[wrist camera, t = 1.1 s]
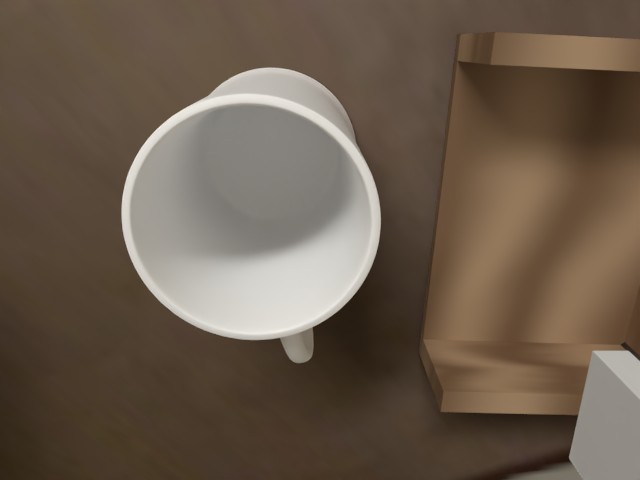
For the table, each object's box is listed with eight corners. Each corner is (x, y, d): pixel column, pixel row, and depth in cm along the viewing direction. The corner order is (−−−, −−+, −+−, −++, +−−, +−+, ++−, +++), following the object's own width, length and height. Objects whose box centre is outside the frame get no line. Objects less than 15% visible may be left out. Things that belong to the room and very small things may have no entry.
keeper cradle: (417, 357, 32) (454, 462, 24) (457, 34, 26) (524, 30, 18) (638, 363, 33) (746, 467, 25) (726, 47, 27) (906, 49, 19)
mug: (368, 277, 31) (404, 413, 19) (217, 295, 31) (166, 440, 20) (347, 57, 27) (377, 66, 15) (174, 78, 27) (79, 103, 16)
